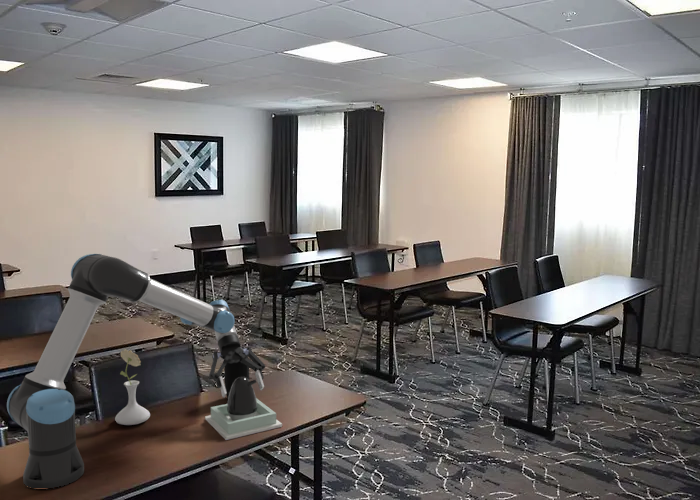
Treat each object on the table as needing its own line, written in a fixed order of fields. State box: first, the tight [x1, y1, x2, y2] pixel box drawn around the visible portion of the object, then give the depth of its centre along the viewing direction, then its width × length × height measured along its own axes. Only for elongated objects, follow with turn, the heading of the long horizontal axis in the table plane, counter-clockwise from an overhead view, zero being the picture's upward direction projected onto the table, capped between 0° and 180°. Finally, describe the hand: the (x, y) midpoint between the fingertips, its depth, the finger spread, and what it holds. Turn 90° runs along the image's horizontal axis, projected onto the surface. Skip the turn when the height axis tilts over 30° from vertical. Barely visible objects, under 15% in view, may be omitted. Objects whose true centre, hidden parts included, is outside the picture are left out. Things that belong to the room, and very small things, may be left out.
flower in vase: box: [114, 348, 151, 426], centre depth 200 cm, size 13×11×25 cm
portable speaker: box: [223, 345, 250, 399], centre depth 222 cm, size 9×9×20 cm
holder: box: [204, 397, 283, 441], centre depth 200 cm, size 20×20×4 cm
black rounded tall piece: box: [226, 377, 258, 421], centre depth 199 cm, size 10×10×15 cm
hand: (243, 392), depth 198 cm, fingers open, 13 cm apart
